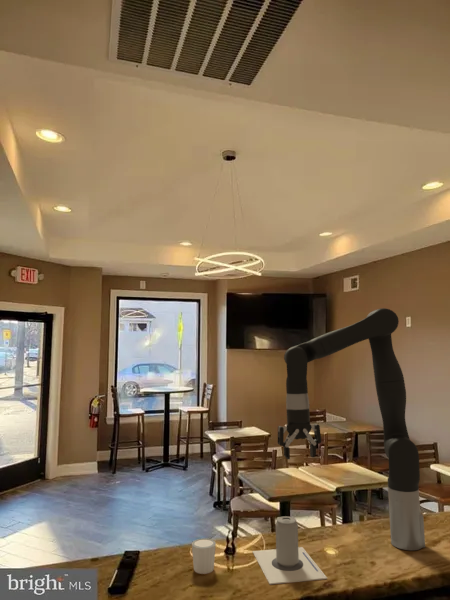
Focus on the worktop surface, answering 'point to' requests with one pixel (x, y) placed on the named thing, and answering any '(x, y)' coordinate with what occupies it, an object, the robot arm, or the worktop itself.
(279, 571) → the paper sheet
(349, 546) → the worktop surface
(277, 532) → the beverage can
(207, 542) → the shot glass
